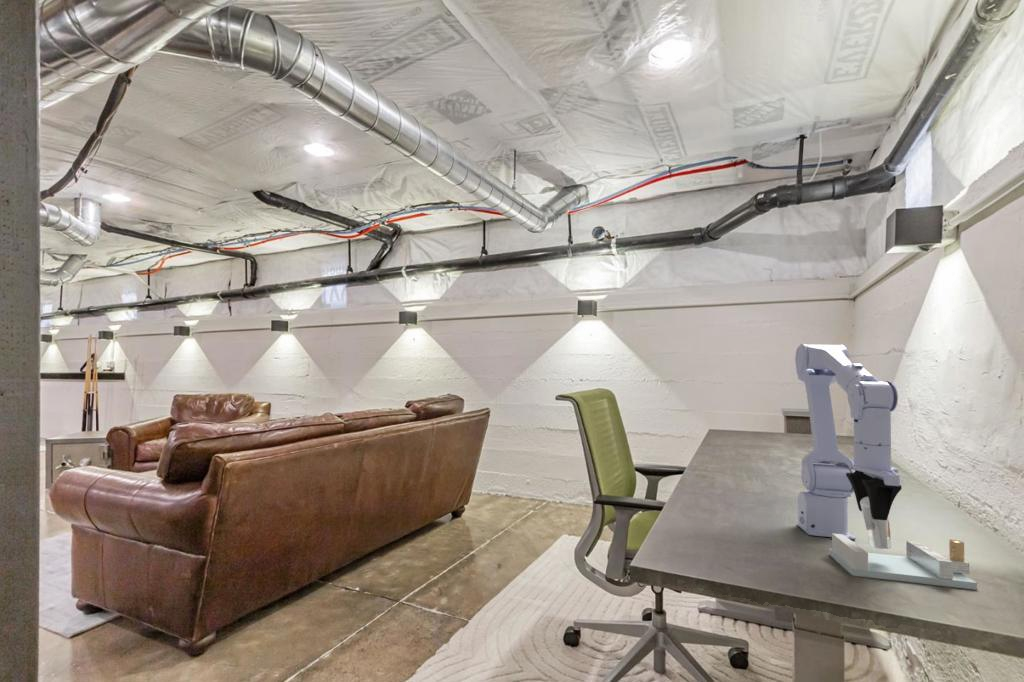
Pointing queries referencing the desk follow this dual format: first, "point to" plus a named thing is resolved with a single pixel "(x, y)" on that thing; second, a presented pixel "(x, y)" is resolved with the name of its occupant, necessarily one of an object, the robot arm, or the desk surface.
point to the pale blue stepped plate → (888, 566)
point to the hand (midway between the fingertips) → (872, 515)
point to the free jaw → (939, 559)
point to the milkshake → (876, 527)
